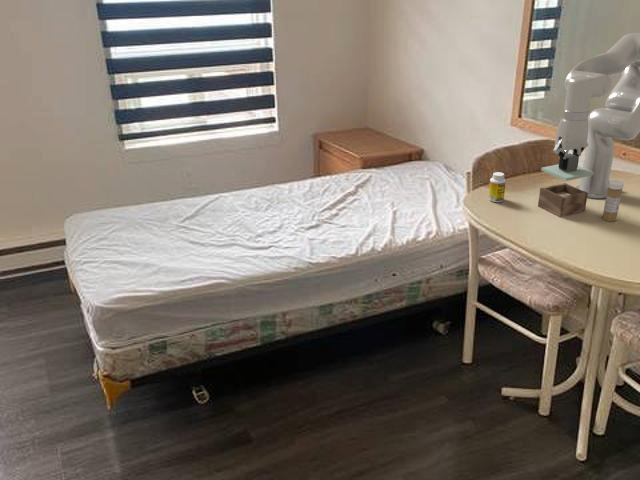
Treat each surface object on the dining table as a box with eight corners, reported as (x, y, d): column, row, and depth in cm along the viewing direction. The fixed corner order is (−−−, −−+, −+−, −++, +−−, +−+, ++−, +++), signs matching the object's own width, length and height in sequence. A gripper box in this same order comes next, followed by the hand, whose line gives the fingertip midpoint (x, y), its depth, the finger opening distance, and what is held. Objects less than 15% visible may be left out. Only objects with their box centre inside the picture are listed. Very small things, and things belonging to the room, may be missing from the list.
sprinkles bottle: (608, 215, 202) (615, 178, 197) (619, 220, 199) (627, 182, 193) (598, 218, 201) (605, 180, 195) (610, 223, 197) (617, 185, 191)
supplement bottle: (496, 204, 215) (499, 177, 211) (485, 199, 219) (487, 173, 215) (507, 200, 218) (509, 174, 213) (495, 196, 222) (497, 170, 218)
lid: (568, 167, 211) (570, 148, 208) (593, 177, 201) (596, 158, 198) (540, 173, 207) (543, 153, 204) (565, 183, 197) (568, 163, 194)
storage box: (562, 201, 215) (565, 183, 212) (584, 211, 206) (587, 192, 203) (537, 206, 212) (540, 187, 209) (559, 217, 203) (562, 198, 200)
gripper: (586, 109, 200) (579, 160, 208) (547, 116, 195) (540, 168, 203) (604, 114, 194) (595, 167, 202) (563, 121, 189) (555, 175, 197)
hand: (567, 167), depth 203 cm, fingers closed on lid, 4 cm apart
